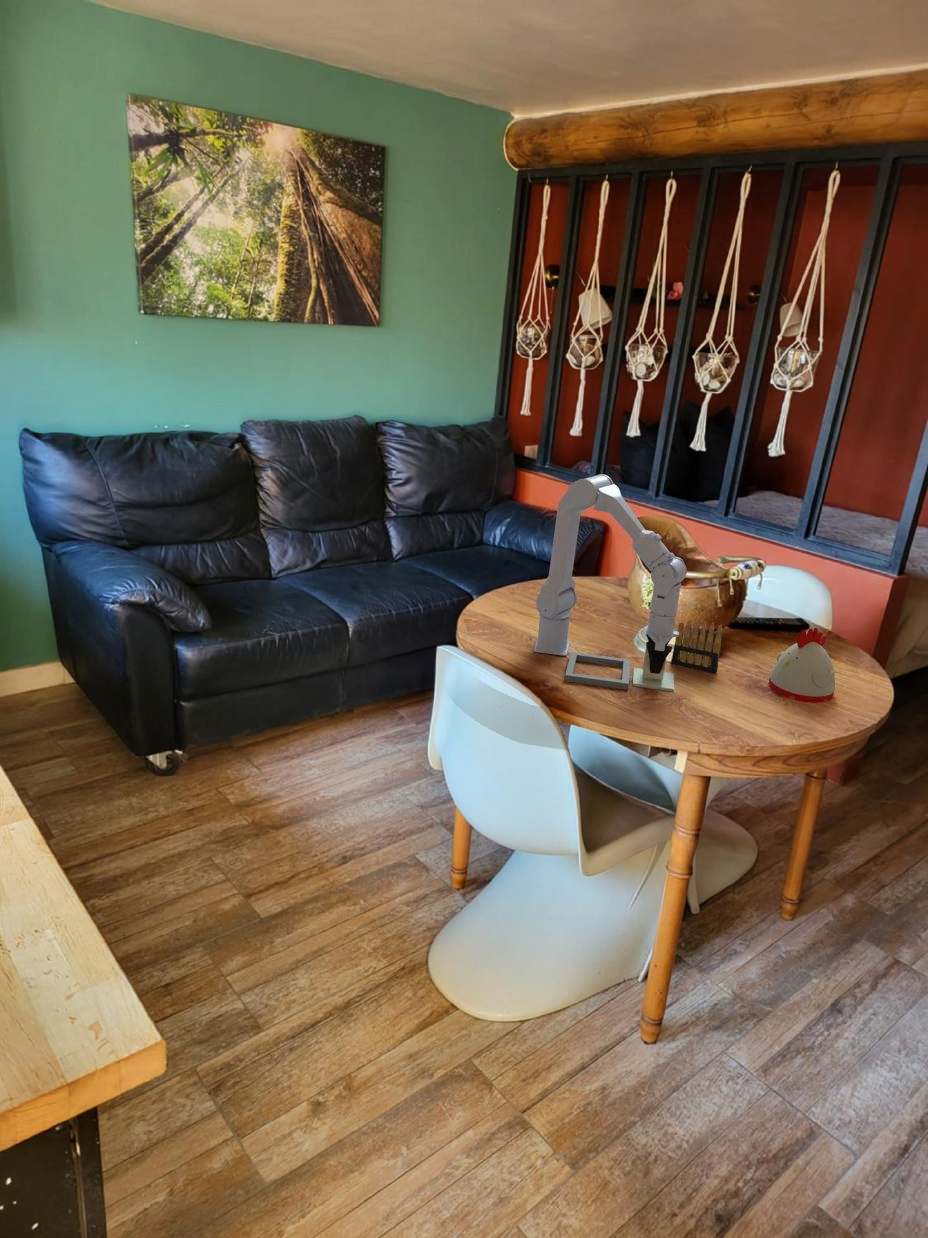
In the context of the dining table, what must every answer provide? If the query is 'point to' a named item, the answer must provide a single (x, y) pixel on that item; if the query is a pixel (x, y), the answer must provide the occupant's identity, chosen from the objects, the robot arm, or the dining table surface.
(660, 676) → the maple block
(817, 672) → the kitchen timer
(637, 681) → the green pad
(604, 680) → the frame
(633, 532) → the robot arm
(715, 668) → the ammunition clip
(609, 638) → the dining table surface
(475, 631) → the dining table surface
